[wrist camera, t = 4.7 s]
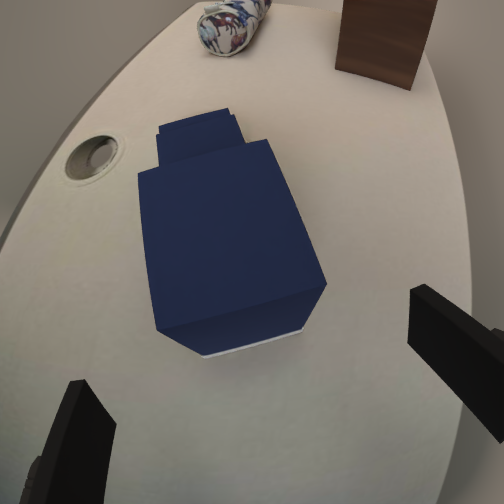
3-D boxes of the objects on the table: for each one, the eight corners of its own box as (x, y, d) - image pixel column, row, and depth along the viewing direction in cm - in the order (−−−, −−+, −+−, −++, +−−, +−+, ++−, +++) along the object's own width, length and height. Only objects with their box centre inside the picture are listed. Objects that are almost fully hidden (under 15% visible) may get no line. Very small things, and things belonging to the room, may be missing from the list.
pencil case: (250, 59, 41) (247, 5, 32) (199, 58, 42) (190, 8, 33) (273, 15, 50) (272, -24, 41) (234, 14, 51) (230, -24, 42)
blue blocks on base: (302, 332, 24) (331, 282, 13) (205, 358, 23) (152, 331, 12) (235, 138, 33) (223, 46, 22) (166, 156, 33) (134, 69, 22)
